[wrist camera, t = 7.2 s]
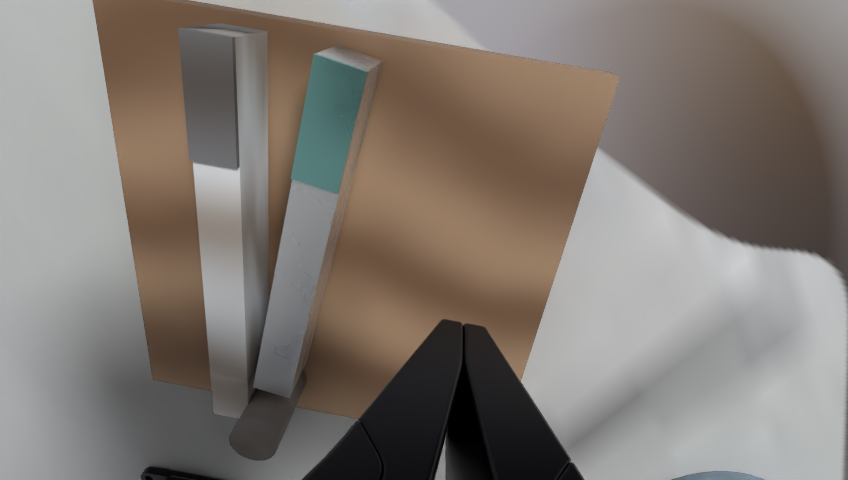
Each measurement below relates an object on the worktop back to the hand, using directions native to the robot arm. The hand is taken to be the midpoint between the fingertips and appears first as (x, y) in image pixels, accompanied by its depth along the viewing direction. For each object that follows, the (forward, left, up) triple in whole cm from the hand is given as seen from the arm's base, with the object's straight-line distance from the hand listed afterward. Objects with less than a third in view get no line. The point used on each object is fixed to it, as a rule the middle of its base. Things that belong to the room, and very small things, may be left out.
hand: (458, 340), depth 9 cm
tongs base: (-5, +5, -11) cm, 13 cm away
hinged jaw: (-3, +5, -10) cm, 11 cm away
